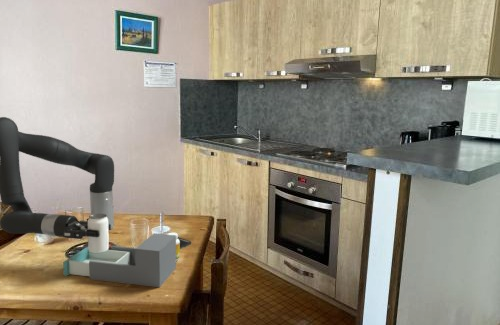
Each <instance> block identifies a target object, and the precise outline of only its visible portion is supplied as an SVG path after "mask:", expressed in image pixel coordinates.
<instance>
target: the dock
mask: <svg viewBox="0 0 500 325" xmlns="http://www.w3.org/2000/svg"><path fill="white" fill-rule="evenodd" d="M166 234H167V233H166ZM166 234H163V233H153V234H151V235H150V236H149V237H148V238H146V239H145V240H144V241H143V242H142V243H141V244H139V245H138V246H137V247H130V246H123V245H122V246H121V245H111V246H110V250H116V251H126V252H130V265H126V264H117V263H107V262H98V261H89V273H90V276H89V280H95V281H103V282H104V281H105V282H112V283H121V284H129V285H137V286H138V285H139V286H145V287H146V286H147V287H153V288H161V286H162V285H163V284H164V283H165V282H166V281H167V279H168V278H169V277H170V276H171V274H173V272H174V271H175V270H176V269H177V261H176V235H166Z"/></svg>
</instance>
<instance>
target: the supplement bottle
mask: <svg viewBox="0 0 500 325" xmlns="http://www.w3.org/2000/svg"><path fill="white" fill-rule="evenodd" d="M166 234H167V235H176V262H177V261H179V260H180V258H181V257H180V255H181V254H180V251H181V249H180V241H179V239H177V238H178V237H179V234H178V233H177V232H169V233H166Z"/></svg>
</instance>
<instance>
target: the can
mask: <svg viewBox="0 0 500 325" xmlns="http://www.w3.org/2000/svg"><path fill="white" fill-rule="evenodd" d="M88 218H89V219H88ZM88 218H87V219H88V230H89V229H91V230H99V232H100V236H99V237H89V236H88V237H87V247H88V251H89V252H91V253H95V254H98V253H103V252H106V251H107V250H110V248H109V244H110V243H109V231H110V230H108V218H107V215H106V214H93V215H91V214H90V215H89V216H88Z"/></svg>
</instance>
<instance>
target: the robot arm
mask: <svg viewBox="0 0 500 325" xmlns="http://www.w3.org/2000/svg"><path fill="white" fill-rule="evenodd" d="M18 128H19V127H18V125H17V123H16V122H15V121H14V120H12V119H11V118H9V117H5V116H1V117H0V200H1V203H2V205H4V206H10V207H11V210H12V211H10V212H8V213H7V212H6V213H5V214H4V215H2V217H1V218H0V228H1V230H3V231H4V232H6V233H9V234H15V235H17V234H38V235H39V234H40V235H46V236H50V237H57V238H66V239H74V240H75V239H76V240H83V239H84V238H88V236H89V237H99V236H100V232H99V230H91V229H89V230H88V219H89V217H87V218H86V220H79V219H78V218H77V217H76V216H75V215H70V214H62V213H61V214H60V213H42V212H37V213H33V211H32V209H31V206H30V204H29V202H28V201H27V199H26V197H25V192H24V186H23V182H22V176H21V168H20V167H21V166H20V153H23V154H25V155H29V156H32V157H35V158H37V159H41V160H44V161H48V162H50V163H53V164H57V165H64V166H70V167H75V168H78V169H81V170H83V171H86V172H87V173H89V174H91V175H94V182H93V183H90V185H89V201H90V215H93V214H106V215H107V218H108V230H109V231H110V230H113V229H114V226H115V223H114V222H115V216H114V213H115V212H114V205H113V204H114V203H113V202H114V201H113V186H114V183H115V162H114V160H113V158H112V157H111V156H110V155H107V154H103V153H102V154H101V153H95V152H89V151H84V150H81V149H78V148H77V147H75V146H74V145H72V144H71V143H69V142H67V141H64V140H62V139H58V138H56V137H52V136H48V135H42V134H33V133H27V132H26V133H25V132H23V131H22V132H21V131H19V129H18Z"/></svg>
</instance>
